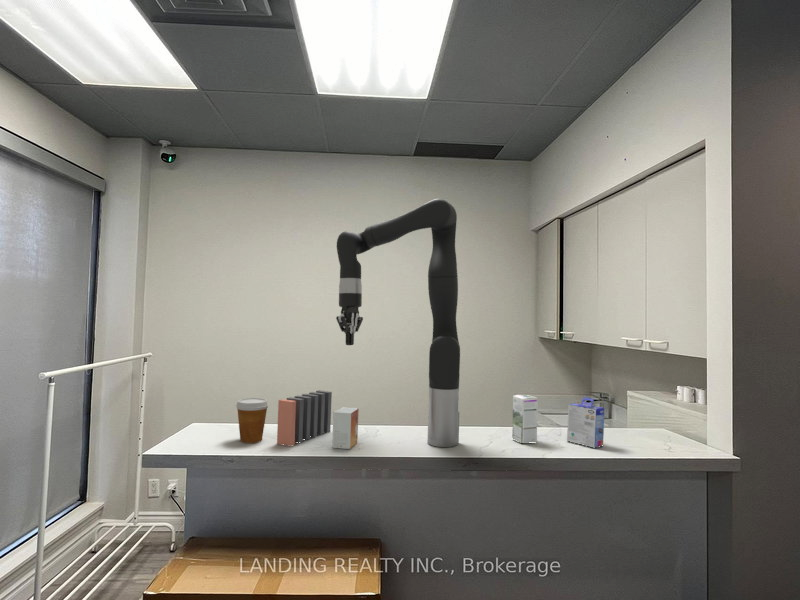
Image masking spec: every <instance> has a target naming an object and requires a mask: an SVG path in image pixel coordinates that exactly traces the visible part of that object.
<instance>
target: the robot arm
mask: <svg viewBox="0 0 800 600" xmlns="http://www.w3.org/2000/svg"><path fill="white" fill-rule="evenodd" d="M457 214H458V213H457V211H456V209H455V207H454V205H452V204H451V203H450V202H449V201H447V200H445V199H442V198H434V199H432V200H430V201H427V202H426V203H423V204H422V205H420V206H418V207H416V208H414V209H412V210H409V211H408V212H406V213H403V214H401V215H398V216H396V217H393V218H390V219H387V220H384V221H380V222H378V223H377V222H376V223H374V224H371V225H368V226H367V227H365V229H364V231H362V232H358V233H355V232H353V231H350V230H349V231H348V230H345V231H343V232H341V233H340V234H339V235H338V237H337V239H336V253H337V257H338V262H339V285H338V307H340V308H341V310H340V314H339V316H336V318H335V319H336V321H337V324H338V326H339V329H340V331H341V332H343V333H344V334H345V346H353V345H355V334H356V332H358V333H359V330H360V327H361V325H362V322H363V320H364V317H363V316H360V311H359V308H361V307H362V305H363V301H362V300H363V299H362V298H363V297H362V295H363V285H362V265H361V263H360V262H359V260H358V258H357V255H360V254H364V253H366V252H367V251H370V250H372V249H373V248H376V247H380V246H382V245H385V244H389V243H391V242H393V241H396V240H398V239H400V238H402V237H403V236H406V235H407V234H410V233H412V232H416V231H419V230H423V229H430V230H431V236H432V252H431V257H430V260H429V265H428V273H427V280H428V281H427V283H428V297H429V298H428V299H429V304H430V305H429V306H430V310H431V316H432V327H433V328H432V339H431V344H430V346H429V355H428V358H429V359H428V360H429V361H428V382H429V383H428V410H427V411H428V412H427V414H428V415H427V439H426V441H427V442H426V443H427V444H428V445H430V446H432V447H433V446H434V447H438V448H439V447H440V448H452V447H456V446H457V445H458V443H459V441H460V436H459V435H460V411H459V400H460V398H459V397H460V395H459V393H460V368H461V367H460V365H461V347H460V346H461V345H460V342H459V341H460V340H459V336H458V329H457V328H458V326H457V310H458V298H459V297H458V296H459V277H458V263H457V254H456V252H457V251H456V236H457V235H456V234H457V231H456V230H457V223H458V222H457V218H458V217H457ZM457 442H458V443H457Z"/></svg>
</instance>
